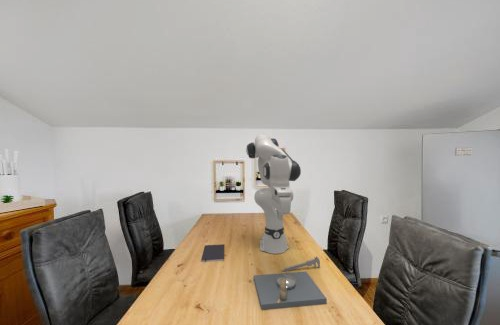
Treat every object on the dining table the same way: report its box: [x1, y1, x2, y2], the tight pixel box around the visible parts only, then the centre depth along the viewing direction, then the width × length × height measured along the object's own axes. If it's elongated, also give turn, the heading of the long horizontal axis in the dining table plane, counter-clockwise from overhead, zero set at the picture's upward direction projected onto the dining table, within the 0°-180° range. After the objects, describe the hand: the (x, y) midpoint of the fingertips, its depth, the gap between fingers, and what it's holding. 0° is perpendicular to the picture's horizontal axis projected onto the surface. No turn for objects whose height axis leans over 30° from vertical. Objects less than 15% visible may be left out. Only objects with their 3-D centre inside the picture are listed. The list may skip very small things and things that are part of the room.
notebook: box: [200, 243, 225, 263], centre depth 133 cm, size 13×2×21 cm
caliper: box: [281, 255, 321, 272], centre depth 113 cm, size 20×1×6 cm, turn 100°
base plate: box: [253, 271, 328, 311], centre depth 95 cm, size 21×26×2 cm
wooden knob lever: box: [277, 275, 295, 300], centre depth 92 cm, size 15×8×7 cm, turn 164°
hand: (279, 219), depth 101 cm, fingers closed
